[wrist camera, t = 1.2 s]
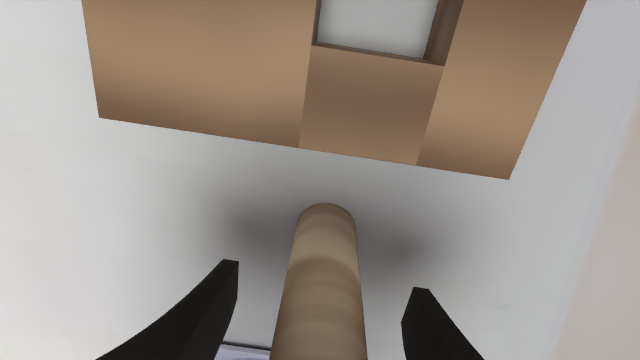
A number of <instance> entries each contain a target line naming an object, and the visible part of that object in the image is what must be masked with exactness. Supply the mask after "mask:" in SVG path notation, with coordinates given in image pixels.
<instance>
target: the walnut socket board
mask: <svg viewBox="0 0 640 360" xmlns="http://www.w3.org/2000/svg"><path fill="white" fill-rule="evenodd" d="M81 1H82V7H83V14H84V20H85V27H86V34H87V40H88V47H89V54H90V60H91V67H92V73H93V80H94V87H95V93H96V100H97V107H98V113H99V118H105V119H111V120H118V121H125V122H131V123H138V124H144V125H151V126H158V127H164V128H171V129H177V130H184V131H191V132H197V133H204V134H210V135H217V136H223V137H230V138H237V139H243V140H250V141H256V142H263V143H270V144H276V145H283V146H289V147H296V148H303V149H309V150H316V151H322V152H329V153H336V154H342V155H349V156H355V157H362V158H369V159H375V160H382V161H388V162H395V163H402V164H408V165H415V166H421V167H428V168H434V169H441V170H448V171H454V172H461V173H467V174H474V175H481V176H487V177H494V178H500V179H507V180H509V178H510V176H511V173H512V171H513V169H514V167H515V164H516V162H517V160H518V157H519V155H520V153H521V150H522V148H523V146H524V144H525V141H526V139H527V137H528V134H529V132H530V130H531V127H532V125H533V123H534V121H535V118H536V116H537V114H538V111H539V109H540V107H541V104H542V102H543V100H544V98H545V95H546V93H547V91H548V88H549V86H550V84H551V81H552V79H553V77H554V74H555V72H556V70H557V68H558V65H559V63H560V61H561V58H562V56H563V54H564V51H565V49H566V47H567V45H568V42H569V40H570V38H571V35H572V33H573V31H574V28H575V26H576V24H577V22H578V19H579V17H580V15H581V12H582V10H583V8H584V5H585V3H586V1H587V0H439V2H438V5H437V9H436V13H435V17H434V21H433V24H432V28H431V32H430V36H429V40H428V43H427V47H426V51H425V55H424V59H421V58H414V57H408V56H402V55H395V54H389V53H383V52H376V51H370V50H363V49H357V48H351V47H344V46H338V45H332V44H325V43H319V42H316V39H317V31H318V24H319V16H320V8H321V0H81Z"/></svg>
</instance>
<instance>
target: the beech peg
mask: <svg viewBox="0 0 640 360" xmlns="http://www.w3.org/2000/svg"><path fill="white" fill-rule="evenodd" d="M269 360H368V359H367V348H366V337H365V326H364V316H363V305H362V294H361V283H360V272H359V262H358V251H357V240H356V229H355V223H354V220H353V218H352V216H351V215H350V214H349V213H348V212H347V211H346V210H345V209H343V208H342V207H340V206H337V205H334V204H328V203H322V204H316V205H313V206H311V207H309V208H307V209H306V210H305V211H304V212H303V213H302V214H301V215H300V217H299V219H298V221H297V226H296V230H295V235H294V240H293V245H292V250H291V255H290V260H289V265H288V269H287V274H286V279H285V284H284V289H283V294H282V299H281V304H280V308H279V313H278V318H277V323H276V328H275V333H274V338H273V343H272V347H271V352H270V357H269Z"/></svg>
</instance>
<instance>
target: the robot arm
mask: <svg viewBox="0 0 640 360" xmlns="http://www.w3.org/2000/svg"><path fill="white" fill-rule="evenodd" d="M238 267H239V261H233V260H226V259H223V260H222V261H221V262H220V263H219V264H218V265H217V266H216V267H215V268H214V269H213V270H212V271H211V272H210V273H209V274H208V275H207V276H206V277H205V278H204V279H203V280H202V281H201V282H200V283H199V284H198V285H197V286H196V287H195V288H194V289H193V290H192V291H191V292H190V293H189V294H188V295H187V296H185V297H184V298H183V299H182V300H181V301H180V302H178V303H177V304H176V305H175V306H174V307H173V308H171V309H170V310H169V311H168V312H167V313H165V314H164V315H163V316H161V317H160V318H159V319H158V320H156V321H155V322H154V323H152V324H151V325H149V326H148V327H147V328H145V329H144V330H142V331H141V332H139V333H138V334H137V335H135V336H134V337H132V338H131V339H129V340H128V341H126V342H124V343H123V344H121V345H120V346H118V347H117V348H115V349H113V350H111V351H110V352H108V353H106V354H104V355H103V356H101V357H99V358H98V359H96V360H269V357H270V352H271V351H267V350H260V349H252V348H245V347H238V346H231V345H224V344H221V343H222V340H223V338H224V336H225V333H226V331H227V328H228V326H229V324H230V321H231V317H232V314H233V311H234V308H235V304H236V301H237V291H238ZM401 327H402V337H403V345H404V351H405V355H406V360H484V359H483V357H482V356H481V355H480V354H479V353H478V352H477V351H476V349H475V348H474V347H473V346H472V345H471V344H470V342H469V341H468V340H467V339H466V338H465V336H464V335H463V334H462V333H461V331H460V330H459V329H458V328H457V326H456V325H455V324H454V323H453V321H452V320H451V319H450V317H449V316H448V315H447V313H446V312H445V311H444V309H443V308H442V307H441V305H440V304H439V303H438V301H437V300H436V299H435V297H434V296H433V294H432V293H431V292H430V291H429V289H425V288H418V287H413V290H412V293H411V296H410V298H409V301H408V304H407V307H406V310H405V313H404V315H403V318H402V321H401Z"/></svg>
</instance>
